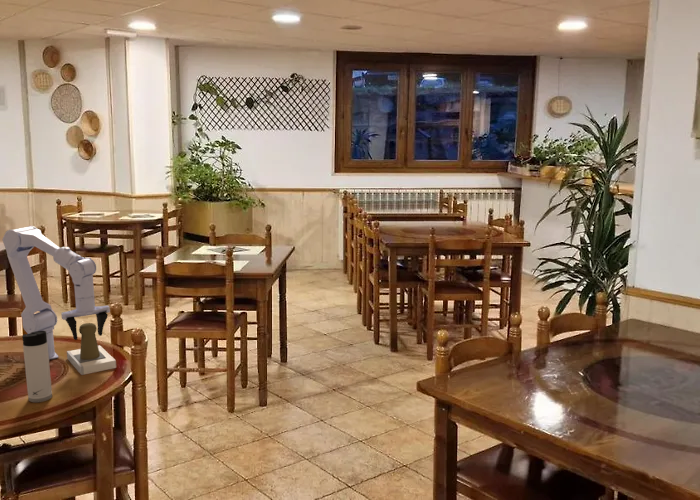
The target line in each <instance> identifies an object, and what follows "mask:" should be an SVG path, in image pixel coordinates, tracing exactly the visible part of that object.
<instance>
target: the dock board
mask: <svg viewBox="0 0 700 500" xmlns="http://www.w3.org/2000/svg"><path fill="white" fill-rule="evenodd" d="M98 349H99V351H100V352H101V353H102V354H103V355H104V356H105V357H106V358H104V359H99V360H93V361H88V362H83V363H80V362H79V361H78V360H77V359H76V358H75V357H74V355H77V354H80V351H81V348H78V349H74V350H73V349H72V350H67V351H66V359H67V360H68V361H69V363H70V364H71V365H72V366H73V367H74V369H75V370H76V371H77V372H78V373H79V374H80V375H81V376H83V375H88V374H93V373H97V372H102V371H107V370H112V369H116V368H117V361H116V359H115V358H114V357H113V356H111V354H110V353H108V351H106V349H104V348H103V346H101V345H98Z"/></svg>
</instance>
